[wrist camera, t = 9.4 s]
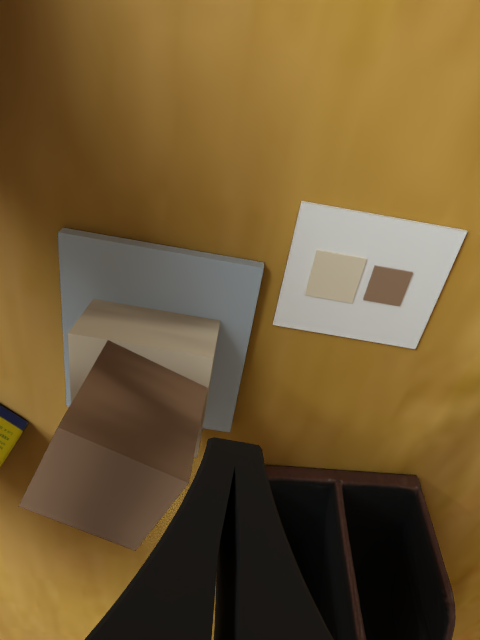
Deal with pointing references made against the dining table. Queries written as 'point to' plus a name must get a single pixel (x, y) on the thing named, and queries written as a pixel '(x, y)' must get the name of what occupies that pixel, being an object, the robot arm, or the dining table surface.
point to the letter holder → (366, 552)
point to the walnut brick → (120, 449)
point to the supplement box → (9, 431)
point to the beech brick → (144, 342)
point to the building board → (165, 298)
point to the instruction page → (364, 274)
